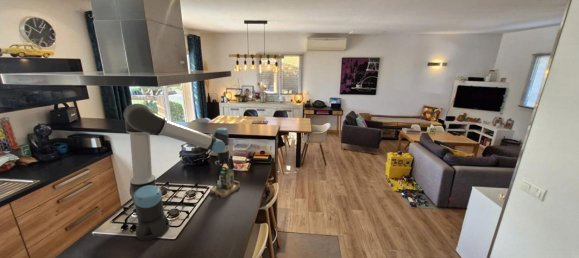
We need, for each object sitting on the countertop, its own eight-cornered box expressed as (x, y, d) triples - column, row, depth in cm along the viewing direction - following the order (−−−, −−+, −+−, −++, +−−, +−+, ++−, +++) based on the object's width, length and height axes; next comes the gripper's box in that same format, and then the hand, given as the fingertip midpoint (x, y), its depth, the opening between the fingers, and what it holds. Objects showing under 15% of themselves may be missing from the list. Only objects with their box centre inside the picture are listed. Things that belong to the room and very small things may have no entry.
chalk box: (234, 183, 161) (233, 164, 157) (226, 190, 153) (225, 170, 149) (223, 181, 164) (222, 162, 160) (215, 187, 156) (214, 167, 152)
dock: (223, 198, 150) (222, 192, 148) (210, 192, 155) (210, 186, 154) (239, 187, 163) (239, 181, 162) (227, 183, 169) (227, 177, 168)
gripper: (213, 157, 140) (216, 189, 146) (238, 147, 159) (240, 176, 165) (205, 154, 144) (208, 186, 150) (231, 145, 162) (232, 173, 168)
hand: (224, 180), depth 157 cm, fingers closed on chalk box, 10 cm apart
